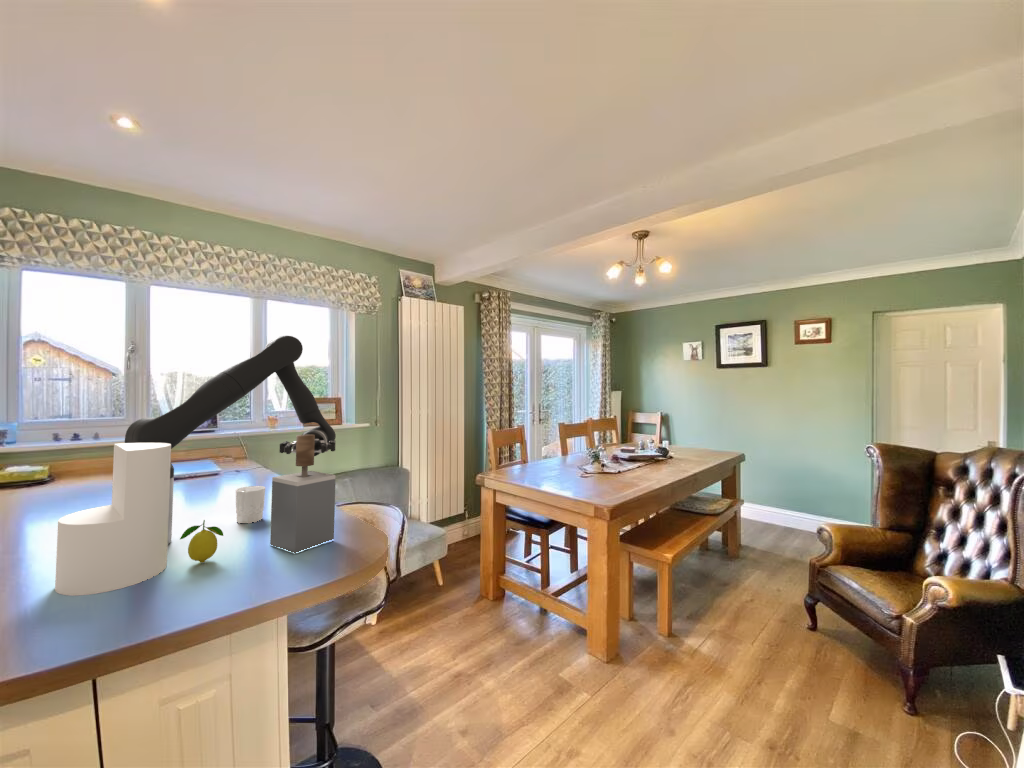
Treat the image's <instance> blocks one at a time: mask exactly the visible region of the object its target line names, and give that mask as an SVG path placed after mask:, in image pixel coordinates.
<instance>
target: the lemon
mask: <svg viewBox="0 0 1024 768" xmlns="http://www.w3.org/2000/svg"><path fill="white" fill-rule="evenodd" d="M205 522H206V521H205V519H203V522H202V524H201V525H192V526H190V527H188V528H187V529H185V531H184V532H183V533H182V535H181V536H180V537H179V540H183V539H185V538H187V537H188V536H190V535H191V534H192V533H194V532H196V531H197V530H199V528H201V526H202V529H201V531H199V532H197V533H196V534H195V535H194V536H192V538H191V539H190V541H189V544H188V548H187V553H188V557H189V559H191V560H192V561H195V562H200V563H201V564H204V563H205V562H206V561H207V560H208V559H210V558H212V557H213V556H214V555H215V553H216V552H217V549H218V539H217V536H216V535H219V536H222V537H223V536H224V532H223V530H222V529H221V528H220V527H218V526H205ZM205 528H206V529H205Z"/></svg>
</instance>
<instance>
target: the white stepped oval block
mask: <svg viewBox="0 0 1024 768" xmlns="http://www.w3.org/2000/svg"><path fill="white" fill-rule="evenodd" d="M171 460H172V449H171V444H169V443H125V442H120V443H113V461H112V464H113V466H112V483H111V484H112V485H111V487H112V489H111V504H108V505H102V506H97V507H92V508H87V509H83V510H79V511H75V512H72V513H69V514H65V515H64V516H62V517H60V518H59V519H58V521H57V540H56V541H57V542H56V557H55V558H56V561H55V563H56V564H55V581H54V582H55V586H54V587H55V588H54V591H55V592H56V593H57V594H59V595H63V596H72V597H73V596H75V597H76V596H77V597H78V596H88V595H95V594H102V593H107V592H112V591H116V590H120V589H124V588H128V587H130V586H134V585H137V584H139V583H142V581H143V582H145V581H148V580H150V579H152V578H154V577H156V576H158V575H159V573H160V572H161V573H163V572H164V571H165V570H166V569H167V567H166V566H168V565H167V564H168V563H167V562H168V544H167V543H168V517H169V490H170V463H171V464H172V462H171ZM164 569H165V570H164ZM163 570H164V571H163ZM161 573H160V574H161ZM153 576H154V577H153ZM147 579H148V580H147Z"/></svg>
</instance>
